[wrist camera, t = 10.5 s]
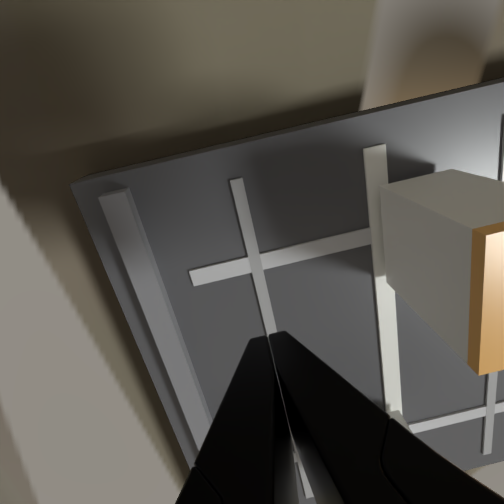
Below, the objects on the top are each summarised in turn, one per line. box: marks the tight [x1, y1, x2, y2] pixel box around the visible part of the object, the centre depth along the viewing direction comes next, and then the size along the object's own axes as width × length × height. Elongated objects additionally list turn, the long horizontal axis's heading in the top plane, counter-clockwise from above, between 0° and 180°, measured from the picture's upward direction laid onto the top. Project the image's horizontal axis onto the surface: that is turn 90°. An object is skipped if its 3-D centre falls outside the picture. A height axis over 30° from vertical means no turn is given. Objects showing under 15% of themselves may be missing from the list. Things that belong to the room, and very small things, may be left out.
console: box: [69, 77, 504, 504], centre depth 15 cm, size 19×18×2 cm
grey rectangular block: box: [380, 169, 504, 376], centre depth 10 cm, size 2×4×5 cm, turn 12°
